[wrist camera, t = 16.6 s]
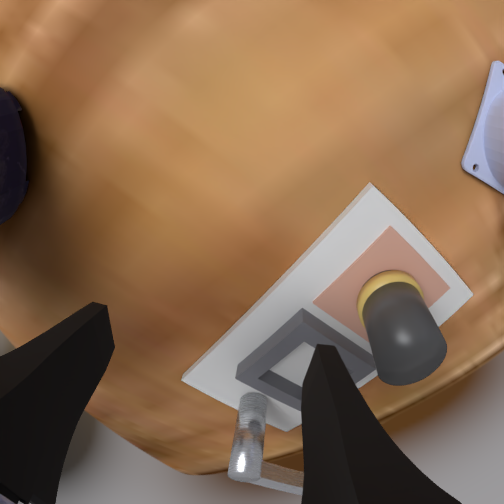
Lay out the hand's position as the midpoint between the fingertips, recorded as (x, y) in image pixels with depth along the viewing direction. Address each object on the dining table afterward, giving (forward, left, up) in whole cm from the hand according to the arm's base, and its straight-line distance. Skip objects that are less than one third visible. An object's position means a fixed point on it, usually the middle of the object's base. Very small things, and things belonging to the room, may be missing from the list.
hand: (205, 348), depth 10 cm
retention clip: (-10, +16, -9) cm, 21 cm away
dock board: (-8, +7, -10) cm, 15 cm away
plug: (-10, +1, -9) cm, 14 cm away
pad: (-10, +1, -10) cm, 14 cm away
